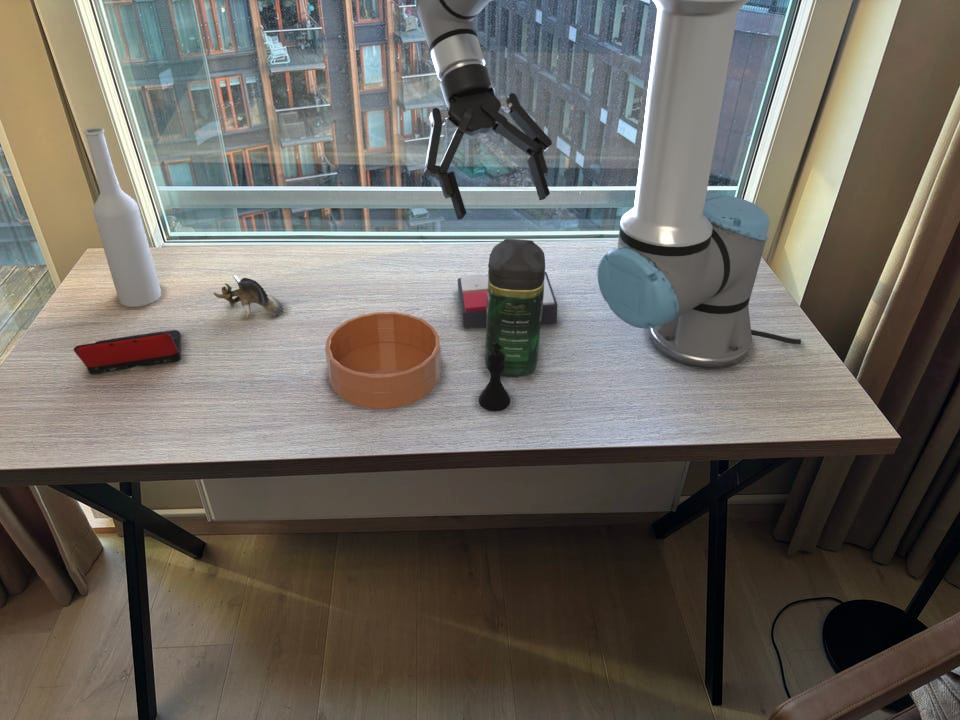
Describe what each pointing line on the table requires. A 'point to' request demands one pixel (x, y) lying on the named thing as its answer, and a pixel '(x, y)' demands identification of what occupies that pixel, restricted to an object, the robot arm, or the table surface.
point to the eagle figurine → (251, 296)
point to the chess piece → (495, 383)
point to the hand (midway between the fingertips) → (504, 207)
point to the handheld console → (130, 351)
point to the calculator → (476, 301)
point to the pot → (383, 359)
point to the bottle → (121, 231)
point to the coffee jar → (515, 304)
